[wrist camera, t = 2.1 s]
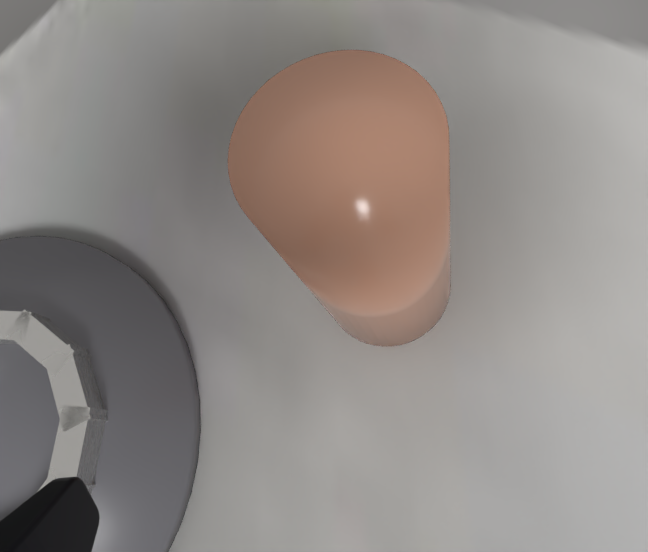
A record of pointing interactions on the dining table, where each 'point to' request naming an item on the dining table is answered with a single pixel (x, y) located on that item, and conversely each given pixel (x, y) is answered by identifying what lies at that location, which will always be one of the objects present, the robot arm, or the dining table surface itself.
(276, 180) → the terracotta peg
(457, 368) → the dining table surface
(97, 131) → the dining table surface
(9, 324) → the metal collar
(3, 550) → the robot arm
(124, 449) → the charcoal plate
